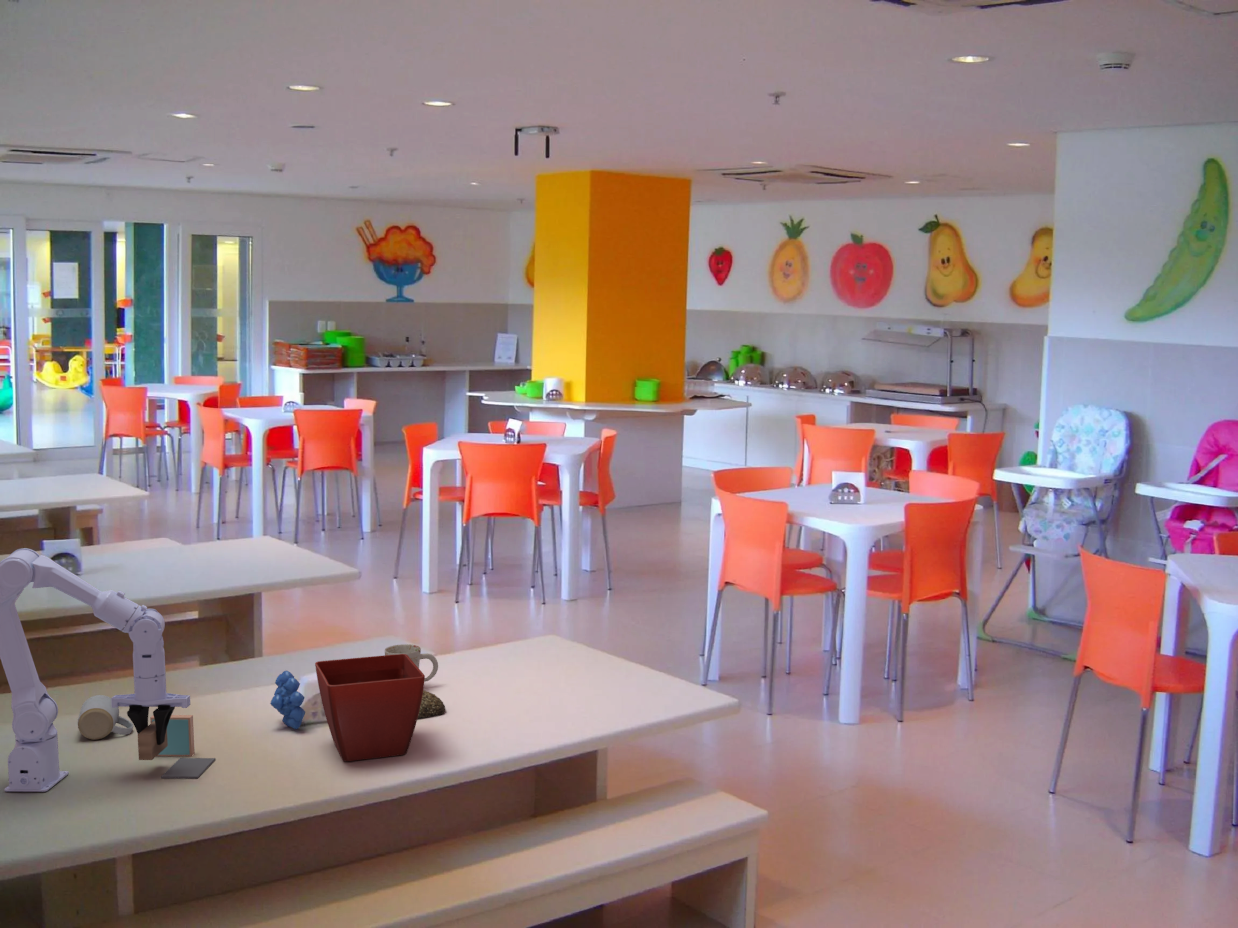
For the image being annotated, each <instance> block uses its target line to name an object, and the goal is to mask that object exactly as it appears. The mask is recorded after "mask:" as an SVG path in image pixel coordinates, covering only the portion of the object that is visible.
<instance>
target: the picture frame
mask: <svg viewBox="0 0 1238 928" xmlns="http://www.w3.org/2000/svg"><path fill="white" fill-rule="evenodd" d="M149 720H150V722H149V723H150V724H151V723H152V722H153V721H155V719H154V715H153V714H152V715H151V717H150V719H149ZM194 733H195V731H194V715H193V714H192V715H191V714H172V715H171V717H170V720H169V723H168V726H167V741H168V746H167V747H166V748H165V749H164V750H163V751H161V752H160V753H159V754H158V755H157V756H156V757H193V756H194V755H195V734H194ZM193 754H194V755H193ZM192 755H193V756H192Z"/></svg>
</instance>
